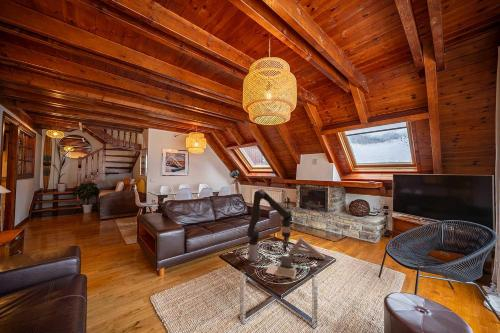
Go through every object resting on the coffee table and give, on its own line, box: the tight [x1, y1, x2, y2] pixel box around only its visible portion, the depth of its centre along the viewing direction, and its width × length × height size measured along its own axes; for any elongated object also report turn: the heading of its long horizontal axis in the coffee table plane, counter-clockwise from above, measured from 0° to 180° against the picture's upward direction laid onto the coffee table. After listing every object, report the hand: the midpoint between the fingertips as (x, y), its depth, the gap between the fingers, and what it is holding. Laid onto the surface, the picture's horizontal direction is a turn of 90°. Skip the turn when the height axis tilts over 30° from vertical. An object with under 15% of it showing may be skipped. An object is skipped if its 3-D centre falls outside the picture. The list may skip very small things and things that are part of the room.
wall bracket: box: [288, 237, 326, 260], centre depth 210 cm, size 22×4×30 cm
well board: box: [265, 262, 298, 280], centre depth 180 cm, size 26×14×6 cm, turn 69°
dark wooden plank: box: [280, 255, 293, 269], centre depth 178 cm, size 9×3×14 cm, turn 69°
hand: (286, 248), depth 178 cm, fingers open, 8 cm apart
